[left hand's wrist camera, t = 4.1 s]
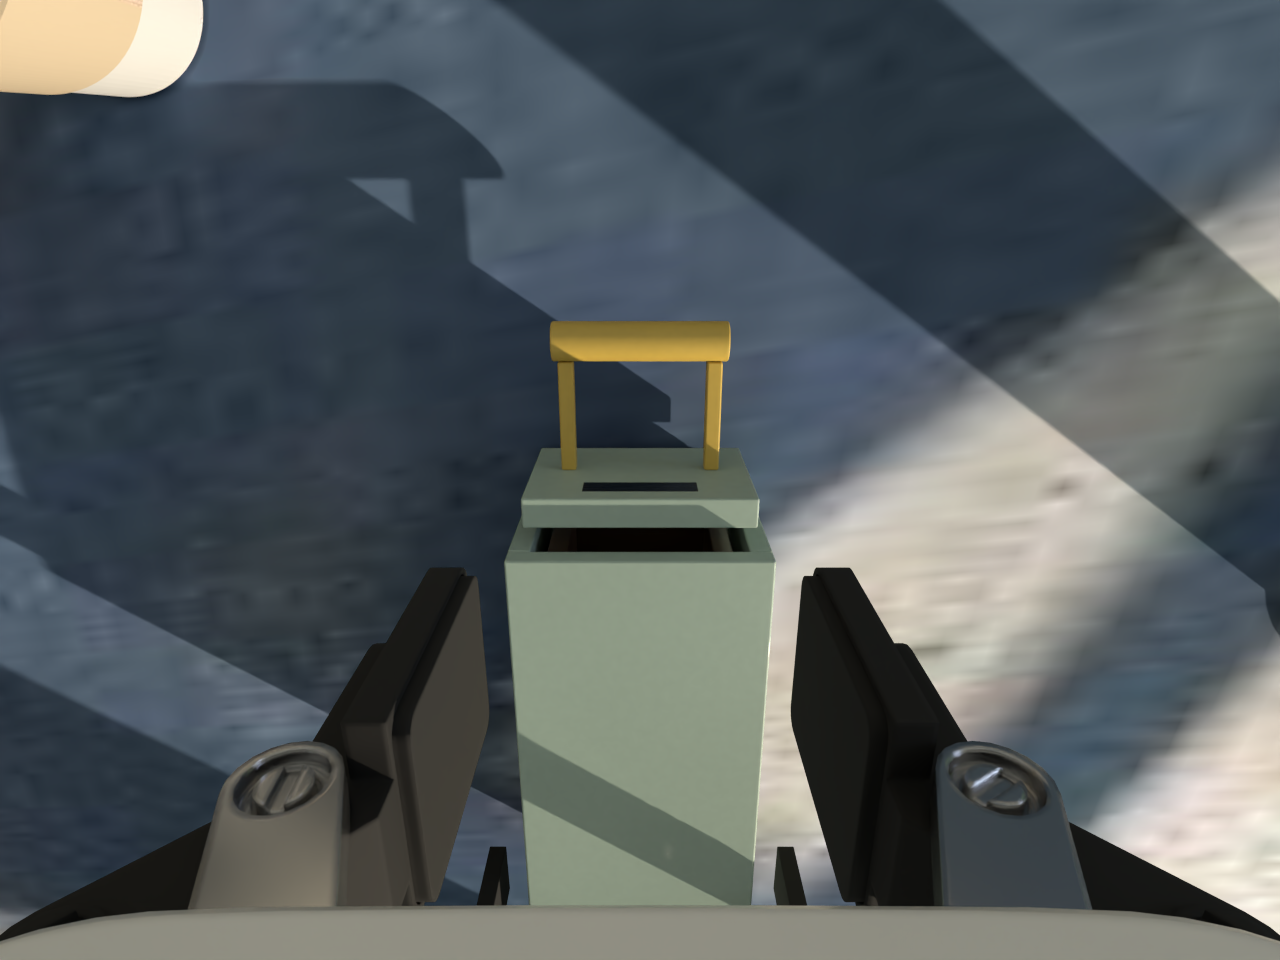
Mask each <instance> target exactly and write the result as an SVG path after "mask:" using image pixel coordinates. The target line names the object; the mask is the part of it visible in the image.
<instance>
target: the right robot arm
mask: <svg viewBox="0 0 1280 960" xmlns="http://www.w3.org/2000/svg"><path fill="white" fill-rule="evenodd" d="M509 889H510V886H509V875H508V864H507V852H506V847H490V850H489V854H488V858H487V863H486V867H485V871H484V876H483V880H482V885H481V889H480V893H479V898H478V902H477V906H499V905H507V900H508V895H509ZM774 893H775V898H776V903H777V905H781V906H807V903H806V899H805V895H804V890H803V886H802V882H801V877H800V873H799V869H798V865H797V860H796V856H795V852H794V848H793V847H777V858H776V869H775V879H774Z"/></svg>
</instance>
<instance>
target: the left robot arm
mask: <svg viewBox="0 0 1280 960" xmlns="http://www.w3.org/2000/svg"><path fill="white" fill-rule="evenodd" d="M488 722H489V700H488V689H487V677H486V666H485V655H484V644H483V632H482V621H481V610H480V599H479V587H478V580H477V577H476V576H467V574H466V570H465V569H464V568H430V569H429V570H428V571H427V573H426V575H425V577H424V578H423V580H422V582H421V583H420V585H419V587H418V589H417V590H416V592H415V594H414V596H413V597H412V599H411V601H410V603H409V604H408V606H407V608H406V609H405V611H404V613H403V615H402V616H401V618H400V620H399V622H398V623H397V625H396V627H395V629H394V630H393V632H392V634H391V635H390V637H389V639H388V641H387V642H386V643H377V644H374V645H372V646H371V647H370V648H369V650H368V651H367V653H366V654H365V656H364V658H363V659H362V661H361V663H360V664H359V666H358V668H357V669H356V671H355V673H354V674H353V676H352V677H351V679H350V681H349V682H348V684H347V686H346V687H345V689H344V691H343V692H342V694H341V696H340V697H339V699H338V700H337V702H336V704H335V705H334V707H333V709H332V710H331V712H330V714H329V715H328V717H327V719H326V720H325V722H324V724H323V725H322V727H321V728H320V730H319V732H318V733H317V735H316V737H315V738H314V740H313V742H312V741H303V742H293V743H287V744H284V745H281V746H277V747H274V748H271V749H269V750H266V751H264V752H262V753H260V754H258V755H256V756H254V757H252V758H251V759H249V760H248V761H247V762H245V763H244V764H242V765H241V766H240V767H238V768H237V769H236V770H235V771H234V772H233V773H232V775H231V776H230V777H229V778H228V779H227V780H226V781H225V783H224V785H223V787H222V789H221V791H220V793H219V797H218V800H217V804H216V808H215V811H214V815H213V818H212V822H210V823H208V824H206V825H204V826H202V827H200V828H198V829H196V830H194V831H192V832H191V833H189V834H187V835H185V836H183V837H181V838H179V839H177V840H175V841H173V842H171V843H169V844H167V845H165V846H163V847H161V848H159V849H157V850H155V851H153V852H151V853H149V854H148V855H146V856H144V857H142V858H140V859H138V860H136V861H134V862H132V863H130V864H128V865H126V866H124V867H122V868H120V869H118V870H116V871H114V872H112V873H110V874H108V875H106V876H105V877H103V878H101V879H99V880H97V881H95V882H93V883H91V884H89V885H87V886H85V887H83V888H81V889H79V890H77V891H75V892H73V893H71V894H69V895H67V896H65V897H63V898H62V899H60V900H58V901H56V902H54V903H52V904H50V905H48V906H46V907H44V908H42V909H40V910H38V911H36V912H34V913H33V914H31V915H29V916H28V917H26V918H24V919H23V920H21V921H19V922H18V923H16V924H14V925H13V926H11V927H10V928H9V929H7V930H6V931H5V932H4V933H2V934H1V935H0V960H1280V935H1279V934H1278V933H1276V932H1275V931H1274V930H1273V929H1271V928H1270V927H1269V926H1267V925H1266V924H1264V923H1262V922H1261V921H1259V920H1257V919H1256V918H1254V917H1252V916H1251V915H1249V914H1247V913H1246V912H1244V911H1242V910H1240V909H1238V908H1236V907H1234V906H1232V905H1230V904H1228V903H1226V902H1224V901H1222V900H1220V899H1218V898H1217V897H1215V896H1213V895H1211V894H1209V893H1207V892H1205V891H1203V890H1201V889H1199V888H1197V887H1195V886H1193V885H1191V884H1189V883H1187V882H1185V881H1183V880H1181V879H1179V878H1177V877H1175V876H1174V875H1172V874H1170V873H1168V872H1166V871H1164V870H1162V869H1160V868H1158V867H1156V866H1154V865H1152V864H1150V863H1148V862H1146V861H1144V860H1142V859H1140V858H1138V857H1136V856H1134V855H1132V854H1131V853H1129V852H1127V851H1125V850H1123V849H1121V848H1119V847H1117V846H1115V845H1113V844H1111V843H1109V842H1107V841H1105V840H1103V839H1101V838H1099V837H1097V836H1095V835H1093V834H1091V833H1089V832H1088V831H1086V830H1084V829H1082V828H1080V827H1078V826H1076V825H1074V824H1072V823H1070V822H1068V818H1067V815H1066V811H1065V808H1064V804H1063V800H1062V797H1061V793H1060V791H1059V789H1058V787H1057V785H1056V783H1055V781H1054V780H1053V779H1052V778H1051V777H1050V776H1049V775H1048V773H1047V772H1046V771H1045V770H1044V769H1043V768H1042V767H1040V766H1039V765H1038V764H1036V763H1035V762H1033V761H1032V760H1031V759H1029V758H1028V757H1026V756H1024V755H1022V754H1020V753H1018V752H1016V751H1014V750H1011V749H1009V748H1006V747H1003V746H999V745H996V744H993V743H987V742H977V741H968V742H967V740H966V738H965V737H964V735H963V733H962V732H961V730H960V728H959V727H958V725H957V724H956V722H955V720H954V719H953V717H952V715H951V714H950V712H949V710H948V709H947V707H946V705H945V704H944V702H943V700H942V699H941V697H940V696H939V694H938V692H937V691H936V689H935V687H934V686H933V684H932V682H931V681H930V679H929V677H928V676H927V674H926V673H925V671H924V669H923V668H922V666H921V664H920V663H919V661H918V659H917V658H916V656H915V654H914V653H913V651H912V650H911V648H910V647H909V646H908V645H907V644H903V643H894V642H893V641H892V639H891V637H890V635H889V634H888V632H887V630H886V629H885V627H884V625H883V623H882V622H881V620H880V618H879V616H878V615H877V613H876V611H875V609H874V608H873V606H872V604H871V603H870V601H869V599H868V597H867V596H866V594H865V592H864V590H863V589H862V587H861V585H860V583H859V582H858V580H857V578H856V576H855V575H854V573H853V571H852V570H851V569H850V568H816V569H815V570H814V574H813V576H804V577H803V580H802V588H801V599H800V610H799V621H798V633H797V644H796V655H795V666H794V678H793V689H792V700H791V722H792V728H793V732H794V735H795V739H796V742H797V745H798V749H799V752H800V756H801V759H802V763H803V766H804V770H805V773H806V776H807V780H808V783H809V787H810V790H811V794H812V797H813V801H814V804H815V807H816V811H817V814H818V818H819V821H820V825H821V828H822V832H823V835H824V839H825V842H826V845H827V849H828V852H829V856H830V859H831V863H832V866H833V870H834V873H835V876H836V880H837V883H838V887H839V890H840V893H841V896H842V899H843V900H844V901H845V902H855V903H856V906H781V905H499V906H424V903H425V902H435V901H436V900H437V899H438V896H439V893H440V890H441V887H442V883H443V880H444V876H445V873H446V870H447V866H448V863H449V859H450V856H451V852H452V849H453V845H454V842H455V839H456V835H457V832H458V828H459V825H460V821H461V818H462V814H463V811H464V808H465V804H466V801H467V797H468V794H469V790H470V787H471V783H472V780H473V777H474V773H475V770H476V766H477V763H478V759H479V756H480V752H481V749H482V746H483V742H484V739H485V735H486V732H487V728H488Z"/></svg>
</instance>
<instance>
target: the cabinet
mask: <svg viewBox="0 0 1280 960" xmlns="http://www.w3.org/2000/svg"><path fill="white" fill-rule="evenodd" d="M727 531H728V535H729V539H730V542H731V546H732V550H733V552H547V551H548V547H549V543H550V540H551V536H552V532H553V528H524V527H523V526H522V516H521V519H520V521H519V524H518V526H517V529H516V532H515V534H514V537H513V540H512V542H511V545H510V548H509V550H508V553H507V556H506V559H505V561H504V569H505V582H506V596H507V610H508V623H509V637H510V650H511V664H512V678H513V691H514V705H515V718H516V732H517V746H518V759H519V773H520V787H521V800H522V814H523V827H524V841H525V855H526V868H527V882H528V895H529V905H751V898H752V884H753V871H754V857H755V844H756V830H757V816H758V803H759V789H760V776H761V762H762V748H763V735H764V721H765V708H766V694H767V680H768V667H769V653H770V639H771V626H772V612H773V599H774V585H775V571H776V561H775V558H774V556H773V553H772V550H771V547H770V545H769V542H768V540H767V537H766V534H765V532H764V529H763V526H762V524H761V521H760V519H759V516H758V526H757V528H727Z"/></svg>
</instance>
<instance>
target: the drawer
mask: <svg viewBox="0 0 1280 960" xmlns="http://www.w3.org/2000/svg"><path fill="white" fill-rule="evenodd" d="M550 352H551V358H552V361H559V362H558V364H557V365H558V390H559V415H560V439H561V448H542V449H541V451H540V454H539V456H538V459H537V461H536V463H535V466H534V468H533V471H532V473H531V476H530V478H529V481H528V483H527V486H526V488H525V491H524V493H523V496H522V498H521V511H522V526H523V527H524V528H553V532H552V536H551V540H550V543H549V547H548V551H547V552H733V550H732V546H731V542H730V539H729V535H728V531H727V528H757V526H758V514H759V498H758V495H757V493H756V490H755V488H754V485H753V483H752V480H751V478H750V475H749V473H748V470H747V468H746V466H745V463H744V461H743V458H742V456H741V453H740V451H739V448H719V444H720V419H721V394H722V369H723V363H722V361H728V359H729V354H730V324H729V322H728V321H552V322H551V325H550ZM574 361H706V385H705V416H704V447H703V448H577V441H576V410H575V379H574Z"/></svg>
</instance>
